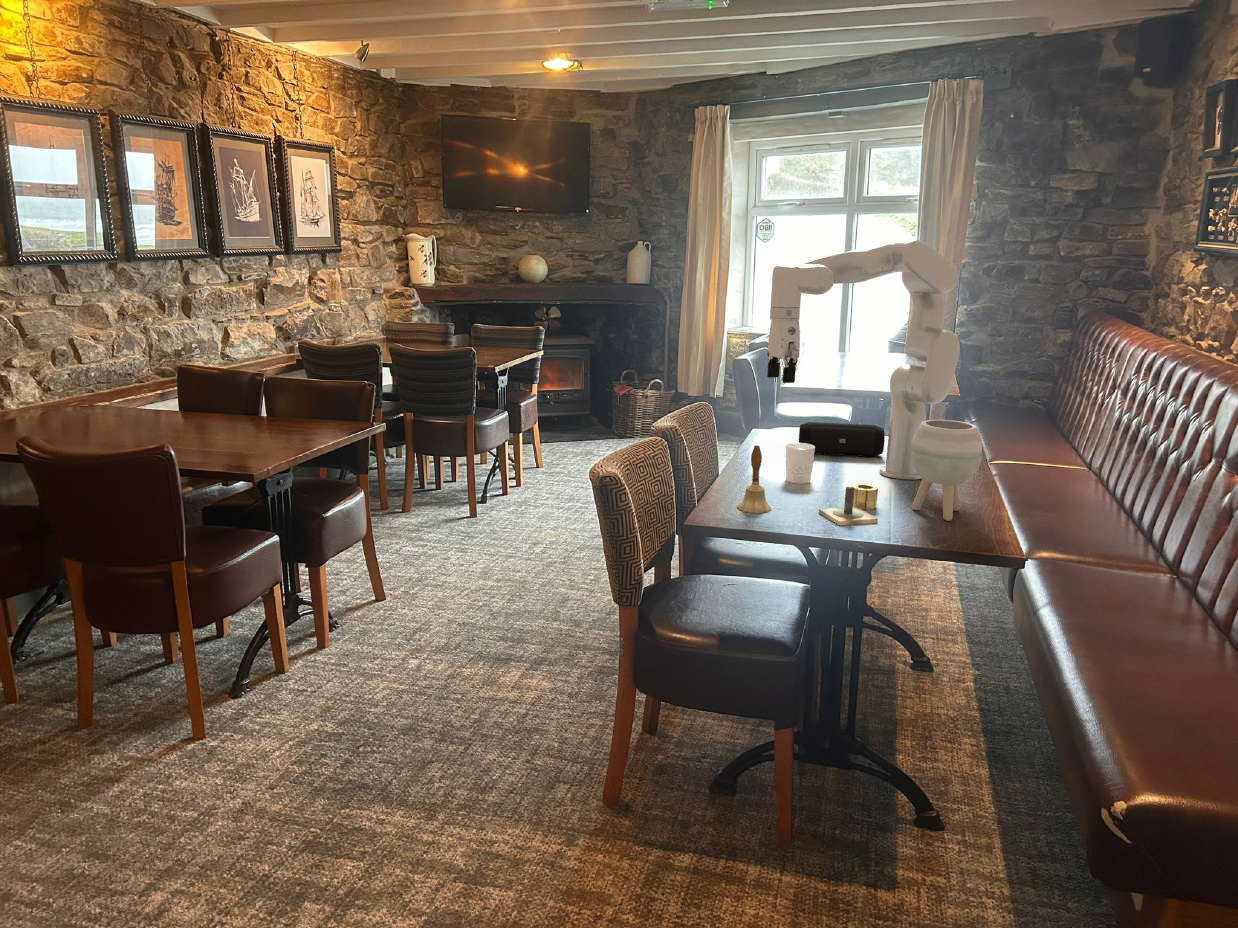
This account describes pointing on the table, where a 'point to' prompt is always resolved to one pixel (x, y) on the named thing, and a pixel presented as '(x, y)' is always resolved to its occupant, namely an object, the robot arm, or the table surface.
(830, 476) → the table surface
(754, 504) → the hand bell
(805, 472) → the white cup
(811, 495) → the table surface
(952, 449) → the planter
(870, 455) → the portable speaker
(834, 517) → the post stand
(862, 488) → the collar
